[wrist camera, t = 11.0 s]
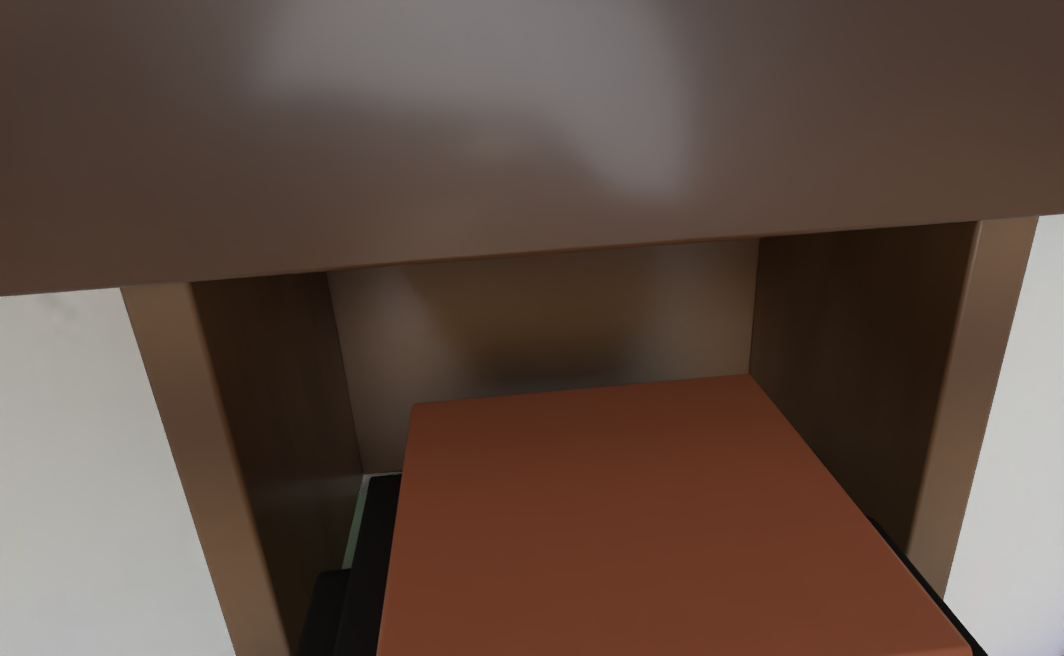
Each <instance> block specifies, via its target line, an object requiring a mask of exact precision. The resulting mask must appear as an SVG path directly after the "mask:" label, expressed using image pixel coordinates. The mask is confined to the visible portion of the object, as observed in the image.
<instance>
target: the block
mask: <svg viewBox="0 0 1064 656" xmlns="http://www.w3.org/2000/svg"><path fill="white" fill-rule="evenodd" d="M376 656H973V653H972V649H971V647H970V645H969V644H968V643H967V641H966V640H965V639H964V638H963V636H962V635H961V634H960V633H959V631H958V630H957V629H956V628H955V627H954V625H953V624H952V623H951V622H950V620H949V619H948V618H947V617H946V615H945V614H944V613H943V612H942V610H941V609H940V608H939V607H938V606H937V604H936V603H935V602H934V601H933V599H932V598H931V597H930V596H929V594H928V593H927V592H926V591H925V589H924V588H923V587H922V586H921V585H920V583H919V582H918V581H917V580H916V578H915V577H914V576H913V575H912V573H911V572H910V571H909V570H908V568H907V567H906V566H905V565H904V564H903V562H902V561H901V560H900V559H899V557H898V556H897V555H896V554H895V552H894V551H893V550H892V549H891V547H890V546H889V545H888V544H887V543H886V541H885V540H884V539H883V538H882V536H881V535H880V534H879V533H878V531H877V530H876V529H875V528H874V526H873V525H872V524H871V523H870V522H869V520H868V519H867V518H866V517H865V515H864V514H863V513H862V512H861V510H860V509H859V508H858V507H857V505H856V504H855V503H854V502H853V501H852V499H851V498H850V497H849V496H848V494H847V493H846V492H845V491H844V489H843V488H842V487H841V486H840V484H839V483H838V482H837V481H836V480H835V478H834V477H833V476H832V475H831V473H830V472H829V471H828V470H827V468H826V467H825V466H824V465H823V463H822V462H821V461H820V460H819V459H818V457H817V456H816V455H815V454H814V452H813V451H812V450H811V449H810V447H809V446H808V445H807V444H806V442H805V441H804V440H803V439H802V438H801V436H800V435H799V434H798V433H797V431H796V430H795V429H794V428H793V426H792V425H791V424H790V423H789V421H788V420H787V419H786V418H785V417H784V415H783V414H782V413H781V412H780V410H779V409H778V408H777V407H776V405H775V404H774V403H773V402H772V400H771V399H770V398H769V397H768V396H767V394H766V393H765V392H764V391H763V389H762V388H761V387H760V386H759V384H758V383H757V382H756V381H755V379H754V378H753V377H752V376H751V375H750V374H737V375H726V376H715V377H704V378H693V379H682V380H671V381H659V382H648V383H637V384H626V385H615V386H604V387H593V388H582V389H570V390H559V391H548V392H537V393H526V394H515V395H504V396H493V397H481V398H470V399H459V400H448V401H437V402H426V403H416V404H413V405H412V408H411V415H410V422H409V429H408V436H407V443H406V450H405V457H404V464H403V471H402V478H401V485H400V492H399V499H398V506H397V513H396V520H395V527H394V534H393V541H392V548H391V555H390V563H389V570H388V577H387V584H386V591H385V598H384V605H383V612H382V619H381V626H380V633H379V640H378V647H377V654H376Z"/></svg>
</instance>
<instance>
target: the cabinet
mask: <svg viewBox="0 0 1064 656" xmlns="http://www.w3.org/2000/svg"><path fill="white" fill-rule="evenodd" d="M1057 214H1064V0H0V297H4V296H17V295H30V294H43V293H56V292H68V291H81V290H94V289H107V288H120V287H133V286H145V285H158V284H171V283H184V282H197V281H210V280H223V279H235V278H248V277H261V276H274V275H287V274H300V273H312V272H325V271H338V270H351V269H364V268H377V267H389V266H402V265H415V264H428V263H441V262H454V261H466V260H479V259H492V258H505V257H518V256H531V255H543V254H556V253H569V252H582V251H595V250H608V249H620V248H633V247H646V246H659V245H672V244H685V243H697V242H710V241H723V240H736V239H749V238H762V237H774V236H787V235H800V234H813V233H826V232H839V231H851V230H864V229H877V228H890V227H903V226H916V225H928V224H941V223H954V222H967V221H980V220H993V219H1005V218H1018V217H1031V216H1044V215H1057Z"/></svg>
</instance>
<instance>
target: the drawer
mask: <svg viewBox="0 0 1064 656" xmlns="http://www.w3.org/2000/svg"><path fill="white" fill-rule="evenodd" d="M1038 219H1039V216H1031V217H1018V218H1005V219H993V220H980V221H967V222H954V223H941V224H928V225H916V226H903V227H890V228H877V229H864V230H851V231H839V232H826V233H813V234H800V235H787V236H774V237H762V238H749V239H736V240H723V241H710V242H697V243H685V244H672V245H659V246H646V247H633V248H620V249H608V250H595V251H582V252H569V253H556V254H543V255H531V256H518V257H505V258H492V259H479V260H466V261H454V262H441V263H428V264H415V265H402V266H389V267H377V268H364V269H351V270H338V271H325V272H312V273H300V274H287V275H274V276H261V277H248V278H235V279H223V280H210V281H197V282H184V283H171V284H158V285H145V286H133V287H120V290H121V293H122V297H123V300H124V303H125V306H126V309H127V312H128V316H129V319H130V322H131V325H132V328H133V331H134V335H135V338H136V341H137V344H138V347H139V350H140V353H141V357H142V360H143V363H144V366H145V369H146V372H147V376H148V379H149V382H150V385H151V388H152V391H153V395H154V398H155V401H156V404H157V407H158V410H159V414H160V417H161V420H162V423H163V426H164V429H165V433H166V436H167V439H168V442H169V445H170V448H171V452H172V455H173V458H174V461H175V464H176V467H177V470H178V474H179V477H180V480H181V483H182V486H183V489H184V493H185V496H186V499H187V502H188V505H189V508H190V512H191V515H192V518H193V521H194V524H195V527H196V531H197V534H198V537H199V540H200V543H201V546H202V550H203V553H204V556H205V559H206V562H207V565H208V568H209V572H210V575H211V578H212V581H213V584H214V587H215V591H216V594H217V597H218V600H219V603H220V606H221V610H222V613H223V616H224V619H225V622H226V625H227V629H228V632H229V635H230V638H231V641H232V644H233V648H234V651H235V654H236V656H295V655H296V652H297V648H298V644H299V640H300V637H301V633H302V629H303V626H304V622H305V618H306V614H307V611H308V607H309V603H310V600H311V596H312V592H313V588H314V585H315V582H316V579H317V576H318V575H319V573H320V572H321V571H328V570H337V569H347V568H351V567H352V562H353V557H354V552H355V548H356V543H357V538H358V533H359V529H360V524H361V519H362V514H363V510H364V505H365V500H366V495H367V493H366V494H359V491H360V487H361V483H362V478H363V474H374V473H385V472H395V471H403V464H404V457H405V450H406V443H407V436H408V429H409V422H410V415H411V408H412V405H413V404H416V403H426V402H437V401H448V400H459V399H470V398H481V397H493V396H504V395H515V394H526V393H537V392H548V391H559V390H570V389H582V388H593V387H604V386H615V385H626V384H637V383H648V382H659V381H671V380H682V379H693V378H704V377H715V376H726V375H737V374H750V375H751V376H752V377H753V378H754V379H755V381H756V382H757V383H758V384H759V386H760V387H761V388H762V389H763V391H764V392H765V393H766V394H767V396H768V397H769V398H770V399H771V400H772V402H773V403H774V404H775V405H776V407H777V408H778V409H779V410H780V412H781V413H782V414H783V415H784V417H785V418H786V419H787V420H788V421H789V423H790V424H791V425H792V426H793V428H794V429H795V430H796V431H797V433H798V434H799V435H800V436H801V437H802V438H803V439H804V440H805V441H806V442H807V444H808V445H809V446H810V447H811V449H812V450H813V451H814V452H815V454H816V455H817V456H818V457H819V458H820V460H821V461H822V462H823V463H824V465H825V466H826V467H827V468H828V470H829V471H830V472H831V473H832V475H833V476H834V477H835V478H836V480H837V481H838V482H839V483H840V484H841V486H842V487H843V488H844V489H845V491H846V492H847V493H848V494H849V496H850V497H851V498H852V499H853V501H854V502H855V503H856V504H857V505H858V507H859V508H860V509H861V510H862V512H863V513H864V514H865V515H867V516H869V517H872V518H874V519H875V520H876V521H877V522H878V523H879V524H880V525H881V526H882V527H883V529H884V530H885V531H886V532H887V533H888V535H889V536H890V537H891V538H892V539H893V541H894V542H895V543H896V544H897V546H898V547H899V548H900V549H901V550H902V552H903V553H904V554H905V555H906V556H907V558H908V559H909V560H910V561H911V563H912V564H913V565H914V566H915V567H916V569H917V570H918V571H919V572H920V573H921V575H922V576H923V577H924V578H925V580H926V581H927V582H928V583H929V584H930V586H931V587H932V588H933V589H934V590H935V592H936V593H937V594H938V595H939V597H940V598H941V599H942V600H943V598H944V594H945V590H946V586H947V582H948V578H949V574H950V570H951V566H952V562H953V558H954V554H955V550H956V546H957V542H958V538H959V534H960V530H961V526H962V522H963V518H964V514H965V510H966V506H967V502H968V498H969V494H970V490H971V486H972V482H973V478H974V474H975V470H976V466H977V462H978V458H979V454H980V450H981V446H982V442H983V438H984V434H985V430H986V426H987V422H988V418H989V414H990V410H991V406H992V402H993V398H994V394H995V390H996V386H997V382H998V378H999V374H1000V370H1001V366H1002V362H1003V358H1004V354H1005V350H1006V346H1007V342H1008V338H1009V334H1010V330H1011V326H1012V322H1013V318H1014V314H1015V310H1016V306H1017V302H1018V298H1019V294H1020V290H1021V286H1022V282H1023V278H1024V274H1025V271H1026V267H1027V263H1028V259H1029V255H1030V251H1031V247H1032V243H1033V239H1034V235H1035V231H1036V227H1037V223H1038Z"/></svg>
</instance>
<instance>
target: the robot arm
mask: <svg viewBox="0 0 1064 656" xmlns="http://www.w3.org/2000/svg"><path fill="white" fill-rule="evenodd" d="M801 438H802V437H801ZM802 439H803V438H802ZM803 440H804V439H803ZM804 441H805V440H804ZM805 442H806V441H805ZM806 444H807V442H806ZM807 445H808V444H807ZM808 446H809V445H808ZM809 447H810V446H809ZM810 449H811V447H810ZM811 450H812V449H811ZM812 451H813V450H812ZM813 452H814V451H813ZM814 454H815V452H814ZM815 455H816V454H815ZM816 456H817V455H816ZM817 457H818V456H817ZM818 459H819V460H820V458H819V457H818ZM820 461H821V460H820ZM821 462H822V461H821ZM822 463H823V462H822ZM823 465H824V463H823ZM824 466H825V465H824ZM825 467H826V466H825ZM826 468H827V467H826ZM827 470H828V468H827ZM828 471H829V470H828ZM829 472H830V471H829ZM830 473H831V472H830ZM831 475H832V473H831ZM832 476H833V475H832ZM833 477H834V476H833ZM401 478H402V474H396V475H386V476H375V477H371V478H370V482H369V486H368V491H367V495H366V500H365V505H364V510H363V514H362V519H361V524H360V529H359V533H358V538H357V543H356V548H355V552H354V557H353V562H352V567H351V568H347V569H337V570H328V571H321V572H320V573H319V575H318V576H317V579H316V582H315V585H314V588H313V592H312V596H311V600H310V603H309V607H308V611H307V614H306V618H305V622H304V626H303V629H302V633H301V637H300V640H299V644H298V648H297V652H296V655H295V656H376V654H377V647H378V640H379V633H380V626H381V619H382V612H383V605H384V598H385V591H386V584H387V577H388V570H389V563H390V555H391V548H392V541H393V534H394V527H395V520H396V513H397V506H398V499H399V492H400V485H401ZM834 478H835V477H834ZM835 480H836V478H835ZM836 481H837V480H836ZM837 482H838V481H837ZM838 483H839V482H838ZM839 484H840V483H839ZM840 486H841V484H840ZM841 487H842V486H841ZM842 488H843V487H842ZM843 489H844V488H843ZM844 491H845V489H844ZM845 492H846V491H845ZM846 493H847V492H846ZM847 494H848V493H847ZM848 496H849V494H848ZM849 497H850V496H849ZM850 498H851V497H850ZM851 499H852V498H851ZM852 501H853V499H852ZM853 502H854V501H853ZM854 503H855V502H854ZM855 504H856V503H855ZM856 505H857V504H856ZM857 507H858V505H857ZM858 508H859V507H858ZM859 509H860V508H859ZM860 510H861V509H860ZM861 512H862V510H861ZM862 513H863V512H862ZM863 514H864V513H863ZM864 515H865V514H864ZM865 517H866V518H867V519H868V520H869V522H870V523H871V524H872V525H873V526H874V528H875V529H876V530H877V531H878V533H879V534H880V535H881V536H882V538H883V539H884V540H885V541H886V543H887V544H888V545H889V546H890V547H891V549H892V550H893V551H894V552H895V554H896V555H897V556H898V557H899V559H900V560H901V561H902V562H903V564H904V565H905V566H906V567H907V568H908V570H909V571H910V572H911V573H912V575H913V576H914V577H915V578H916V580H917V581H918V582H919V583H920V585H921V586H922V587H923V588H924V589H925V591H926V592H927V593H928V594H929V596H930V597H931V598H932V599H933V601H934V602H935V603H936V604H937V606H938V607H939V608H940V609H941V610H942V612H943V613H944V614H945V615H946V617H947V618H948V619H949V620H950V622H951V623H952V624H953V625H954V627H955V628H956V629H957V630H958V631H959V633H960V634H961V635H962V636H963V638H964V639H965V640H966V641H967V643H968V644H969V645H970V647H971V649H972V653H973V656H988V655H987V654H986V652H985V651H984V650H983V649H982V648H981V646H980V645H979V644H978V643H977V641H976V640H975V639H974V638H973V637H972V635H971V634H970V633H969V632H968V631H967V629H966V628H965V627H964V626H963V624H962V623H961V622H960V621H959V620H958V618H957V617H956V616H955V615H954V614H953V612H952V611H951V610H950V609H949V607H948V606H947V605H946V604H945V603H944V601H943V600H942V599H941V598H940V597H939V595H938V594H937V593H936V592H935V590H934V589H933V588H932V587H931V586H930V584H929V583H928V582H927V581H926V580H925V578H924V577H923V576H922V575H921V573H920V572H919V571H918V570H917V569H916V567H915V566H914V565H913V564H912V563H911V561H910V560H909V559H908V558H907V556H906V555H905V554H904V553H903V552H902V550H901V549H900V548H899V547H898V546H897V544H896V543H895V542H894V541H893V539H892V538H891V537H890V536H889V535H888V533H887V532H886V531H885V530H884V529H883V527H882V526H881V525H880V524H879V523H878V522H877V521H876V520H875V519H874V518H872V517H869V516H867V515H865Z"/></svg>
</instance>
